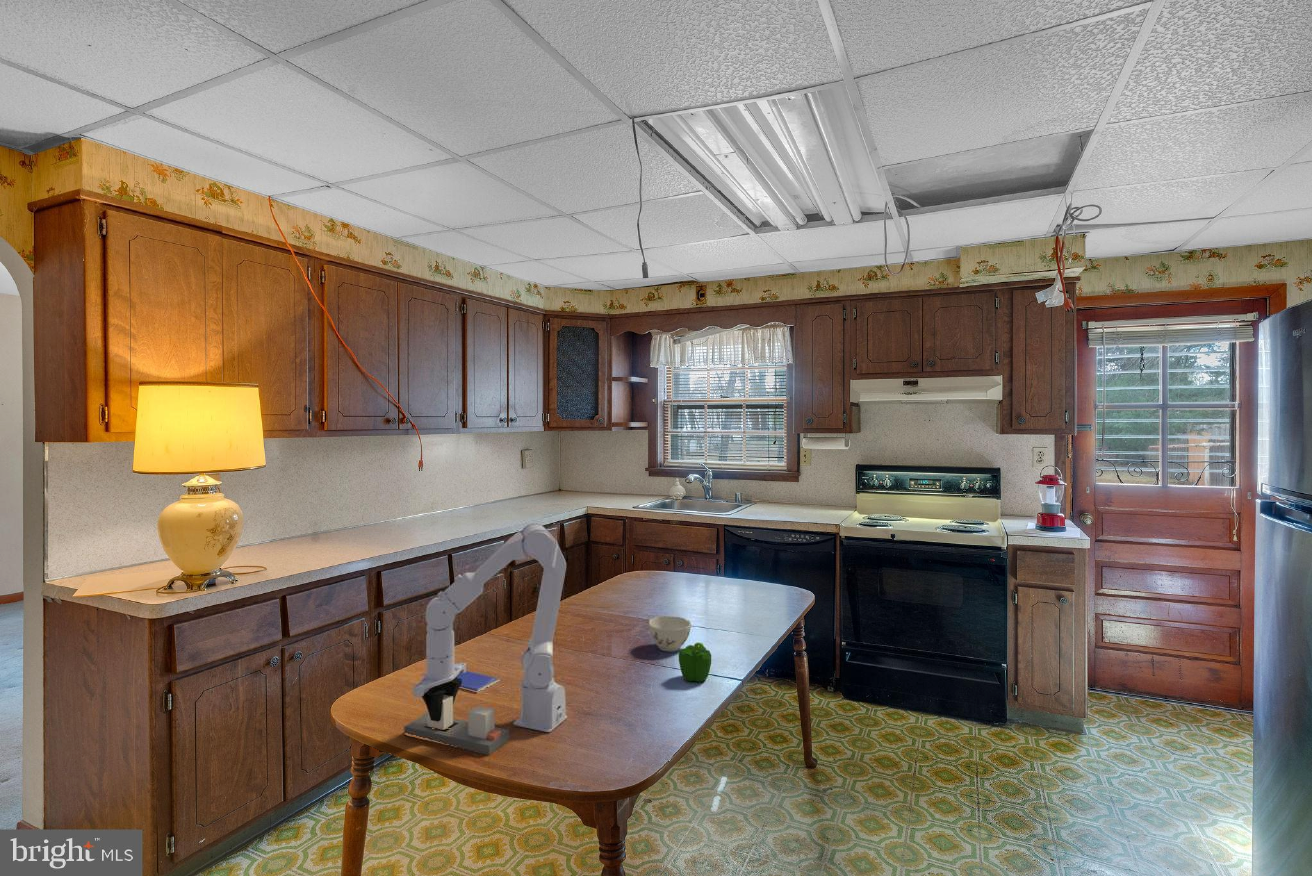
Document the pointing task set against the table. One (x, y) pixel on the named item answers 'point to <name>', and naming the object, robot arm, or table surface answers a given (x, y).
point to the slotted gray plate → (465, 731)
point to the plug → (443, 715)
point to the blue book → (476, 681)
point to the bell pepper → (695, 662)
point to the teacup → (669, 632)
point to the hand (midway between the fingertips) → (441, 716)
